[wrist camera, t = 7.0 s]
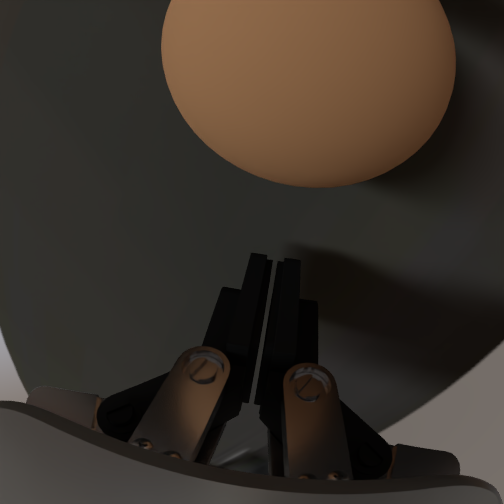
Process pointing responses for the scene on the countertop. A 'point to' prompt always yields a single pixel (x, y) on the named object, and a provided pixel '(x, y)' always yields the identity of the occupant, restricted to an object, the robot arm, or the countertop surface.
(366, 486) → the robot arm
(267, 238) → the countertop surface
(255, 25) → the ball
